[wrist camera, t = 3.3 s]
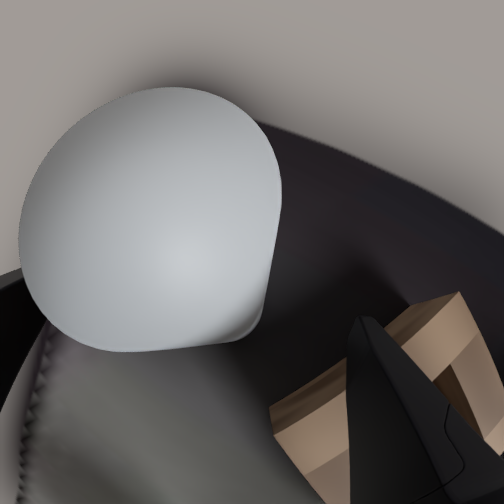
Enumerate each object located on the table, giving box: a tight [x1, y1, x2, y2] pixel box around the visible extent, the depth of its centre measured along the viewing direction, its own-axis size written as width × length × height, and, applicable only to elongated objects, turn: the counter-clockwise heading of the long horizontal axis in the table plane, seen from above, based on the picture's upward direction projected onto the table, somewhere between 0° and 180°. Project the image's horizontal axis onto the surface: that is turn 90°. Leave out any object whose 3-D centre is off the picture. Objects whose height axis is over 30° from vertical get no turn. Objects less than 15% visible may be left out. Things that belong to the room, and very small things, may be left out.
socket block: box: [269, 292, 504, 504], centre depth 12 cm, size 10×10×5 cm
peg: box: [19, 87, 281, 352], centre depth 10 cm, size 4×4×13 cm
